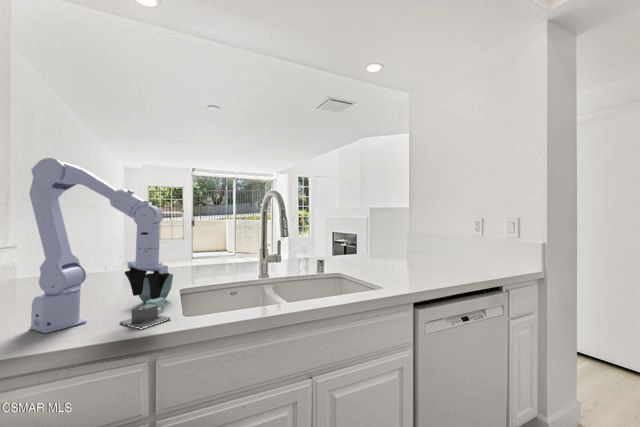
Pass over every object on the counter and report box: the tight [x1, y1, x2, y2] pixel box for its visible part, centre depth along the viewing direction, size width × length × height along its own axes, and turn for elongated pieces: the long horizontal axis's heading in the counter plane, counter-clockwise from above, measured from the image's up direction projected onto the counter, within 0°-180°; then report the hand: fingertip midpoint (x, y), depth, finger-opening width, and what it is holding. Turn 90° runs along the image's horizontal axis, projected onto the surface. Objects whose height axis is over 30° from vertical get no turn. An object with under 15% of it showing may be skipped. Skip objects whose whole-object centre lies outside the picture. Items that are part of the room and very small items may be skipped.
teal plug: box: [145, 298, 166, 310], centre depth 97 cm, size 8×3×4 cm, turn 4°
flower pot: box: [138, 272, 174, 304], centre depth 107 cm, size 9×9×9 cm
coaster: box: [119, 314, 171, 328], centre depth 86 cm, size 9×9×1 cm
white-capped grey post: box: [130, 304, 163, 324], centre depth 86 cm, size 8×3×4 cm, turn 154°
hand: (146, 296), depth 86 cm, fingers open, 7 cm apart
